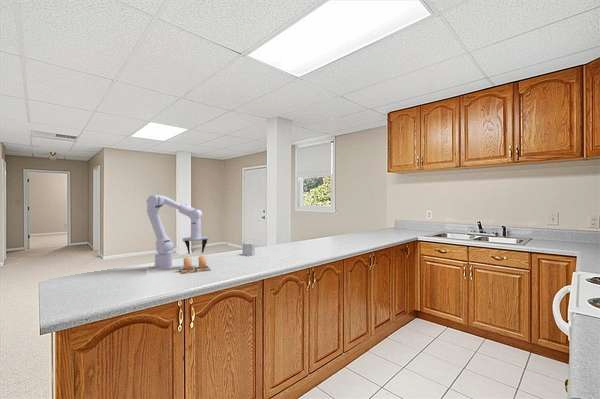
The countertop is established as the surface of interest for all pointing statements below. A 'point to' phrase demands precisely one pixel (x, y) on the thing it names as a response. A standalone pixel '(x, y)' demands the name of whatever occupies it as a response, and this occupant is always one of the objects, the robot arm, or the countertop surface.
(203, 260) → the terracotta peg
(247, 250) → the medicine box
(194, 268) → the board
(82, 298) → the countertop surface
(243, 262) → the countertop surface
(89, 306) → the countertop surface
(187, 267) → the peg
